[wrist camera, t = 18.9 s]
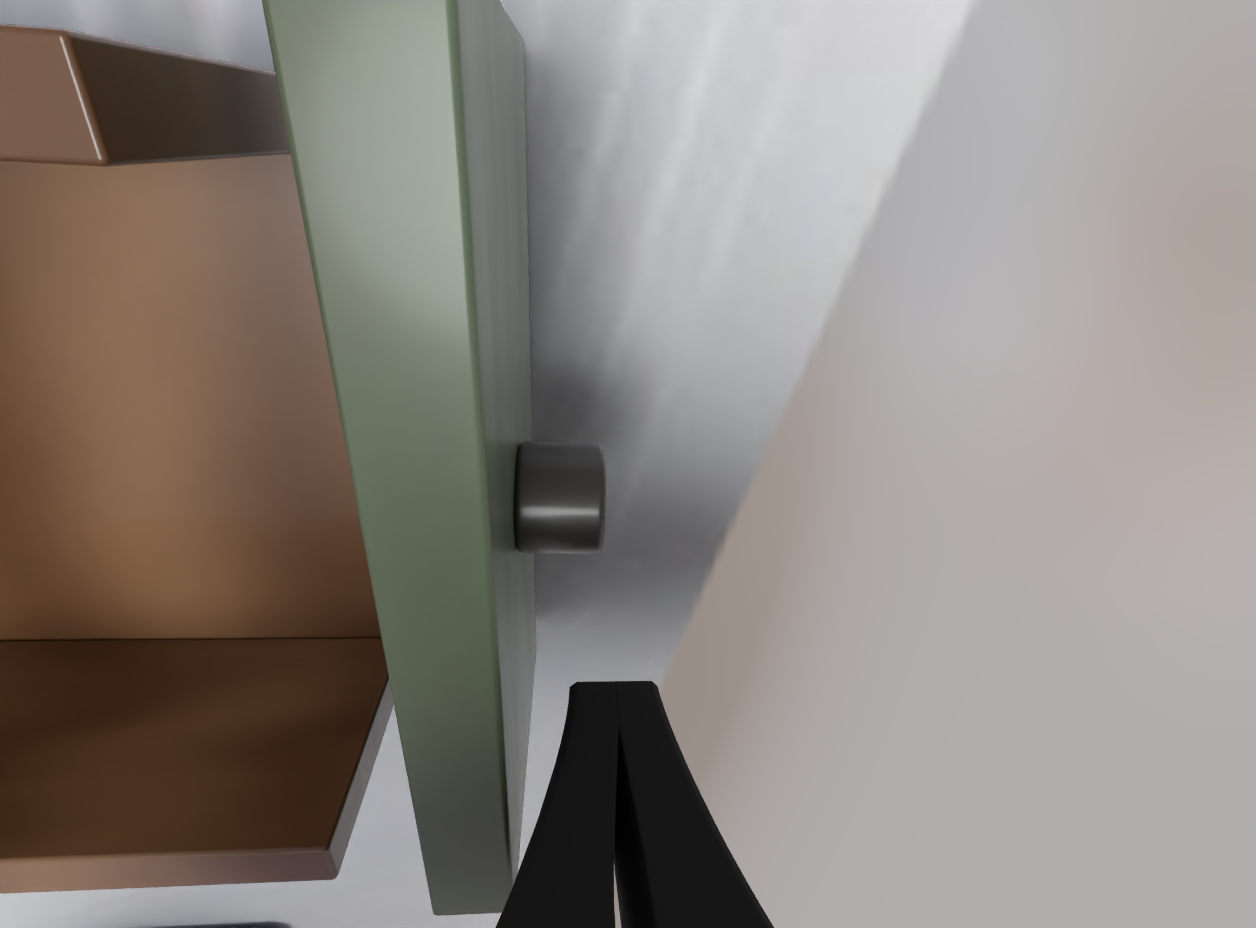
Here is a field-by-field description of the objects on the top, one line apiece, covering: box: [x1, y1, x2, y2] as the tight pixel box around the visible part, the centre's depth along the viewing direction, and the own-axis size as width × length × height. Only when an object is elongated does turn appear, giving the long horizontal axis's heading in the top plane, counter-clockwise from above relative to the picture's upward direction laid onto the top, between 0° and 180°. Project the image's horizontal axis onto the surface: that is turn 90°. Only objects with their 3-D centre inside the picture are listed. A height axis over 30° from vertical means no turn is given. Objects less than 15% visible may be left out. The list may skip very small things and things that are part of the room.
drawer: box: [0, 0, 606, 916], centre depth 8 cm, size 15×11×5 cm
